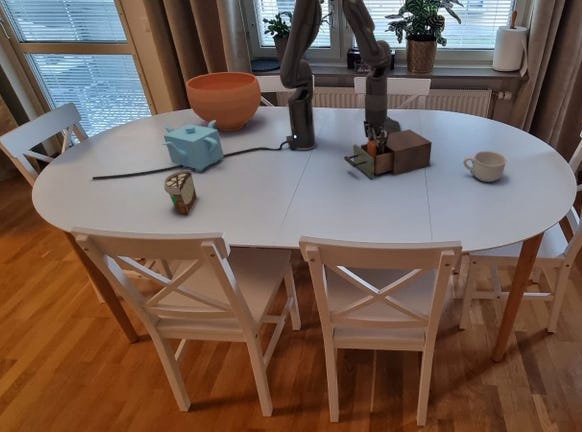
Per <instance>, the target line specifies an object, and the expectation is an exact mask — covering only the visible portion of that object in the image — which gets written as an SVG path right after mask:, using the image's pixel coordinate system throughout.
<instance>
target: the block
mask: <svg viewBox="0 0 582 432" xmlns="http://www.w3.org/2000/svg"><path fill="white" fill-rule="evenodd" d="M378 141H380V140H378ZM366 142H367V143H366V144H367V153H369V154H370V155H371V156H372V157H375V156H376V141H375V140H371V141H368V140H367V141H366ZM382 154H384V146H383V149H382Z"/></svg>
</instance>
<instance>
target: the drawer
mask: <svg viewBox="0 0 582 432" xmlns="http://www.w3.org/2000/svg"><path fill="white" fill-rule="evenodd" d="M352 151H353V152H352V153H353V155H349V156H348V155H344V157H343V160H344V161H345V162H347V163H348V164H349V165H350V166H351V167H352V168H358V169H359V170H361V171H362V172H363V173H364V174H365V175H366V176H368V177H369V178H370V179H373V178H374V177H375V175H379V174H383V173H387V172H389V171H391V170H393V152H392V151H390V150H389V149H387V148H386V147H384V154H382V155H378V156H375V157H372V156H371V155H370V154H369V153H367V143H363V144H360V146H359V145H358V144H353V145H352ZM352 159H353V160H352Z"/></svg>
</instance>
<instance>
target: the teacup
mask: <svg viewBox="0 0 582 432" xmlns="http://www.w3.org/2000/svg"><path fill="white" fill-rule="evenodd" d="M468 161H471V163H472V166H470V165H468V164H467V163H468ZM462 162H463V163H462V164H463V166H464V168H466V169H467V170H469V172H470V173H471V174H473V176H474V177H475V178H476V179H478V180H479V181H481V182H483V183H484V182H485V183H492V182H495V181H497V180H499V179H500V178H502V176H503V173H504V171H505V166H506V163H507V158H506V157H505V156H504V155H503V154H502V153H499V152H496V151H491V150H481V151H478V152H475V154H474V156H466V157H465V158H464V159H463V161H462Z"/></svg>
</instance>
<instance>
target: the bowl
mask: <svg viewBox="0 0 582 432" xmlns="http://www.w3.org/2000/svg"><path fill="white" fill-rule="evenodd" d="M185 88H186V95H187V100H188V103H189V106H190V107H191V109H192V111H193V113H194V114H195V115H197V116H198V117H199V118H200V119H201V120H202V121H204V122H206V123H208V124H209V123H210V122H211V121H213V120H216V122H215V123H214V127H217V128H218V129H219V130H220V131H222V132H223V131H224V132H234V131H239V130H241V129H243V128H244V127H245V125H246V123H247V122H249V120H251V119H252V118H253V117H254V116H255V114H256V113H257V111H258V109H259V107H260V105H261V101H262V92H261V91H262V90H261V86H260V83H259V80H258V78H257V77H256V75H254V74H251V73H249V72H241V71H223V72H214V73H207V74H201V75H198V76H195V77H193V78H190V79H189V80H187V81H186V82H185Z"/></svg>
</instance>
